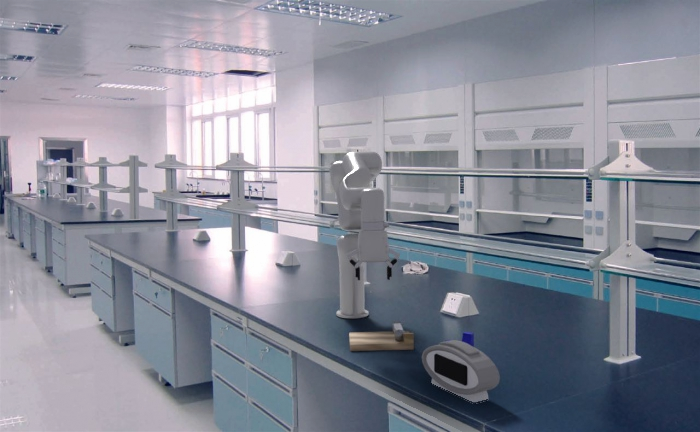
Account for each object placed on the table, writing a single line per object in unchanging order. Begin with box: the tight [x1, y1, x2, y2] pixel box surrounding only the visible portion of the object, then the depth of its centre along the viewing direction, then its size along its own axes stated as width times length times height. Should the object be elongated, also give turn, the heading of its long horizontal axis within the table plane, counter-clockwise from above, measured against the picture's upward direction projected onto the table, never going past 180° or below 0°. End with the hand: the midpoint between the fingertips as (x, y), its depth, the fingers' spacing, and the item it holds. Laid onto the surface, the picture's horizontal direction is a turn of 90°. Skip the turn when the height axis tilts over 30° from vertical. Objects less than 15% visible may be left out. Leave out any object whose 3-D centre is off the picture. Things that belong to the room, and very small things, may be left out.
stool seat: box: [348, 330, 415, 352], centre depth 201 cm, size 14×20×5 cm
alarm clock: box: [421, 339, 501, 402], centre depth 157 cm, size 23×6×13 cm, turn 31°
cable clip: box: [445, 331, 475, 347], centre depth 187 cm, size 12×4×6 cm, turn 141°
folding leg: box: [392, 320, 406, 341], centre depth 202 cm, size 13×3×3 cm, turn 1°
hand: (373, 279), depth 200 cm, fingers open, 9 cm apart
